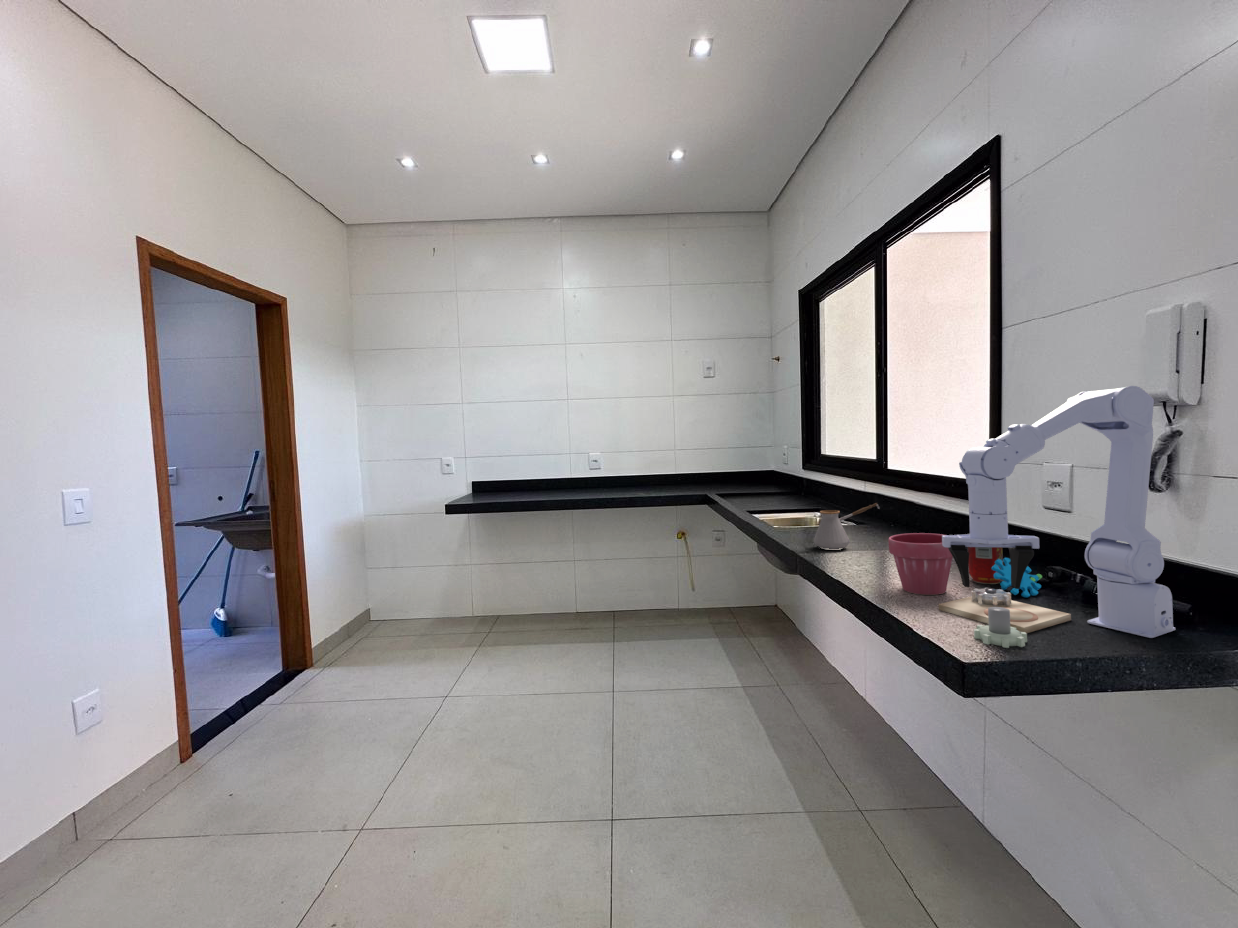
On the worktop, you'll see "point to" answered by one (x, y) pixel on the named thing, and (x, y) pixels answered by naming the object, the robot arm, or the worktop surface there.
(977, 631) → the gear
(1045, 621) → the carrier plate
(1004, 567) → the blue piece
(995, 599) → the sun gear
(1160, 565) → the robot arm
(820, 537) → the coffee pot
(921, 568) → the plant pot
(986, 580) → the soda can
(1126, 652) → the worktop surface
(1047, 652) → the worktop surface
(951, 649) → the worktop surface
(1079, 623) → the worktop surface
